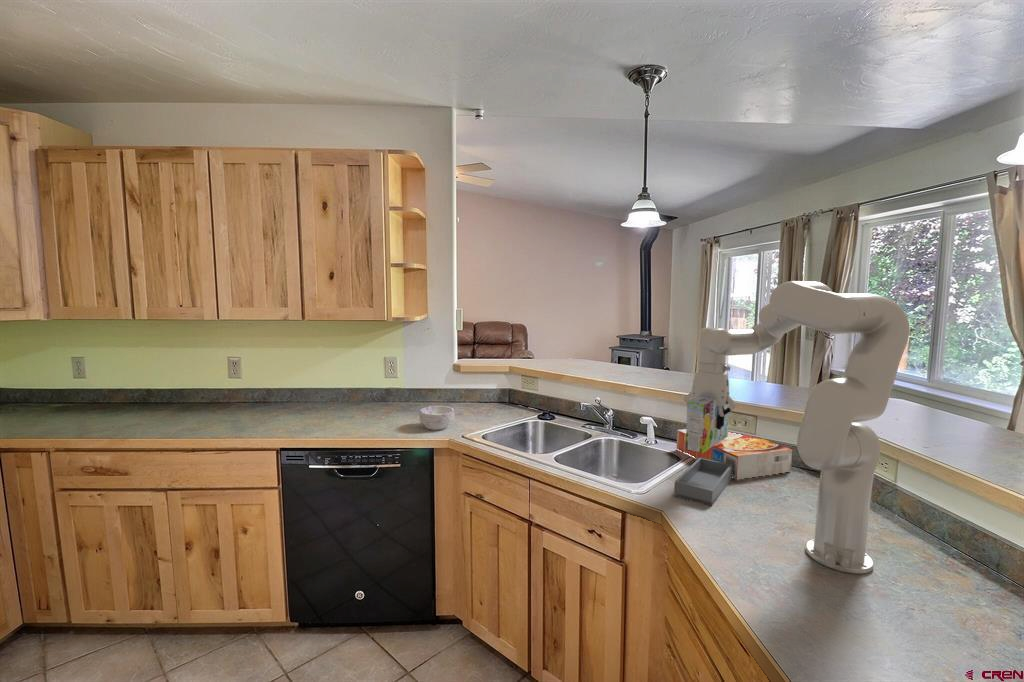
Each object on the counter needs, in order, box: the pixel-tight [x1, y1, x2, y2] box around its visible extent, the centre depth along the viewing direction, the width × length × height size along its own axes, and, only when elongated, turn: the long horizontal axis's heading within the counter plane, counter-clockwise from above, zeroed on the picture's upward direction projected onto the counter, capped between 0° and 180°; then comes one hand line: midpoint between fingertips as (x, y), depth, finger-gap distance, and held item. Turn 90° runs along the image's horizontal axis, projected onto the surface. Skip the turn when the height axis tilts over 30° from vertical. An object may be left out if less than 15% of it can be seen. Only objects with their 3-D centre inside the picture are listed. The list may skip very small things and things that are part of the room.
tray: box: [673, 458, 733, 507], centre depth 144 cm, size 26×11×4 cm, turn 143°
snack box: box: [685, 396, 730, 454], centre depth 142 cm, size 21×6×15 cm, turn 137°
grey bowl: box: [419, 405, 455, 431], centre depth 204 cm, size 15×15×8 cm
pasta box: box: [676, 428, 793, 481], centre depth 167 cm, size 23×8×30 cm
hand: (708, 425), depth 142 cm, fingers closed on snack box, 5 cm apart
